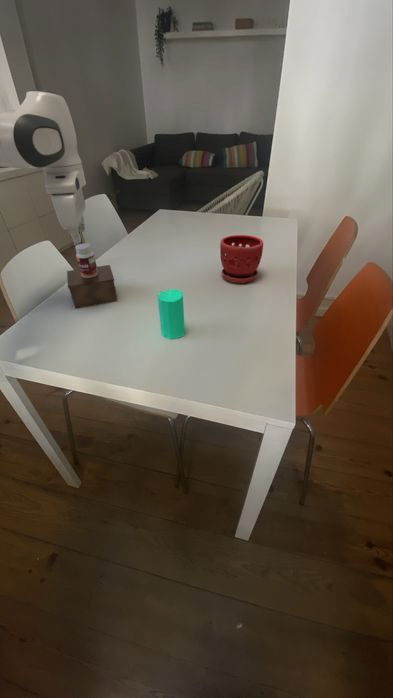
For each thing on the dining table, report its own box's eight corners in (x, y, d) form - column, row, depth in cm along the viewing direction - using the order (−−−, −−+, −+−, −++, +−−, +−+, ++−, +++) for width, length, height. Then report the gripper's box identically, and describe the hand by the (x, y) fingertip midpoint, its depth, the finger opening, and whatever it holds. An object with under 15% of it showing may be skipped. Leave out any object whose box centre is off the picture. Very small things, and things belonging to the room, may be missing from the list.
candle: (186, 326, 82) (184, 283, 74) (182, 339, 77) (180, 295, 70) (163, 324, 82) (159, 282, 75) (158, 338, 78) (153, 294, 70)
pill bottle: (77, 277, 90) (69, 247, 85) (88, 270, 93) (81, 242, 88) (91, 279, 88) (84, 250, 83) (101, 272, 92) (95, 243, 87)
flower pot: (266, 282, 100) (271, 244, 93) (227, 288, 98) (229, 250, 90) (249, 266, 110) (252, 231, 103) (214, 271, 108) (214, 235, 100)
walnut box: (74, 309, 90) (67, 286, 85) (73, 292, 98) (67, 271, 93) (118, 301, 93) (114, 278, 88) (113, 286, 101) (109, 264, 96)
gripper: (59, 171, 83) (72, 225, 92) (43, 187, 67) (61, 251, 76) (83, 170, 84) (94, 223, 93) (73, 185, 68) (88, 248, 77)
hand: (79, 236), depth 84 cm, fingers open, 8 cm apart
